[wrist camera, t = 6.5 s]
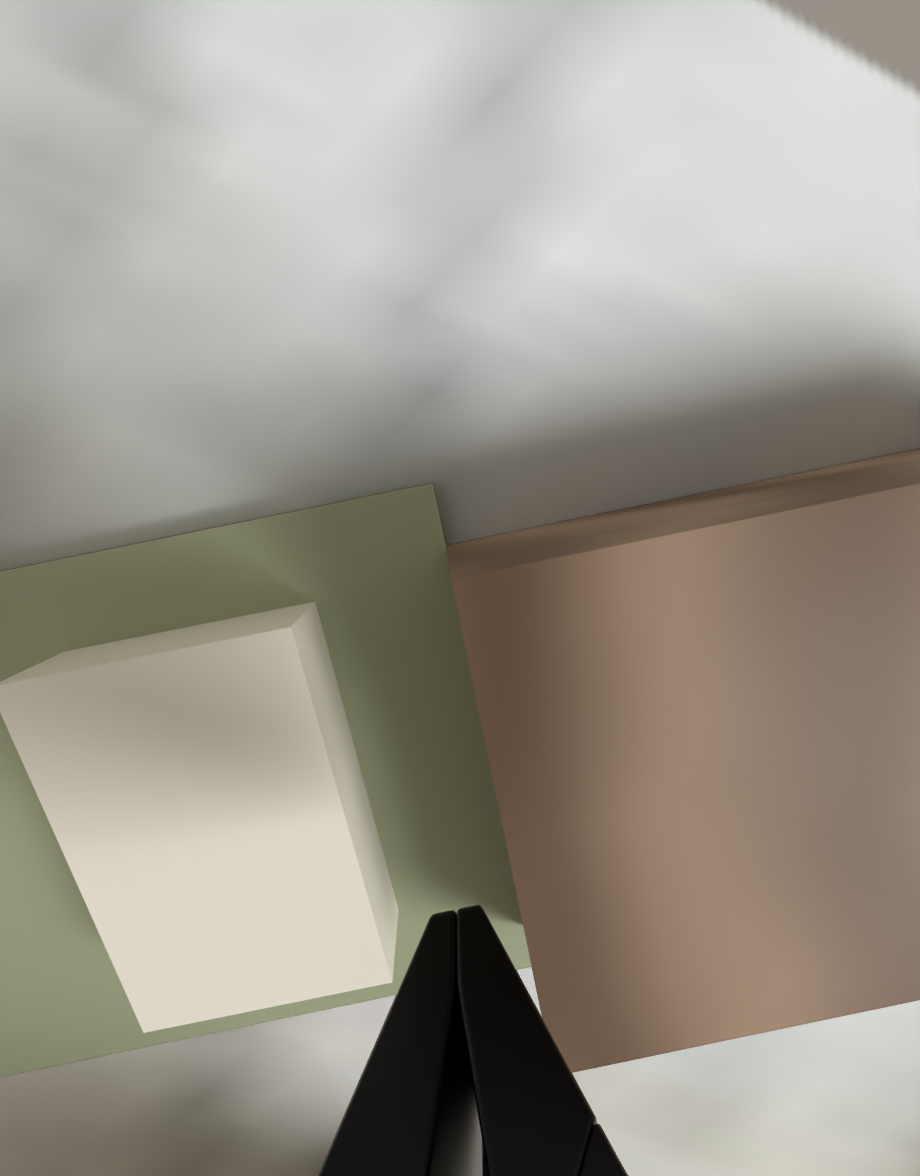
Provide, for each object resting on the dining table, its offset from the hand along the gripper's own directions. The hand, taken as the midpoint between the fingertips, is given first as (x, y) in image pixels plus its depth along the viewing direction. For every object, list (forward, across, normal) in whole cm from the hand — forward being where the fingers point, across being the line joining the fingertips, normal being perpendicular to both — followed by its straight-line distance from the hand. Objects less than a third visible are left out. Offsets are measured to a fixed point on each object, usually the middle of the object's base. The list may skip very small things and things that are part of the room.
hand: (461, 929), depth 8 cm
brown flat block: (+5, -8, 0) cm, 10 cm away
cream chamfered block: (+3, +5, 0) cm, 6 cm away
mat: (+5, +7, 0) cm, 9 cm away
